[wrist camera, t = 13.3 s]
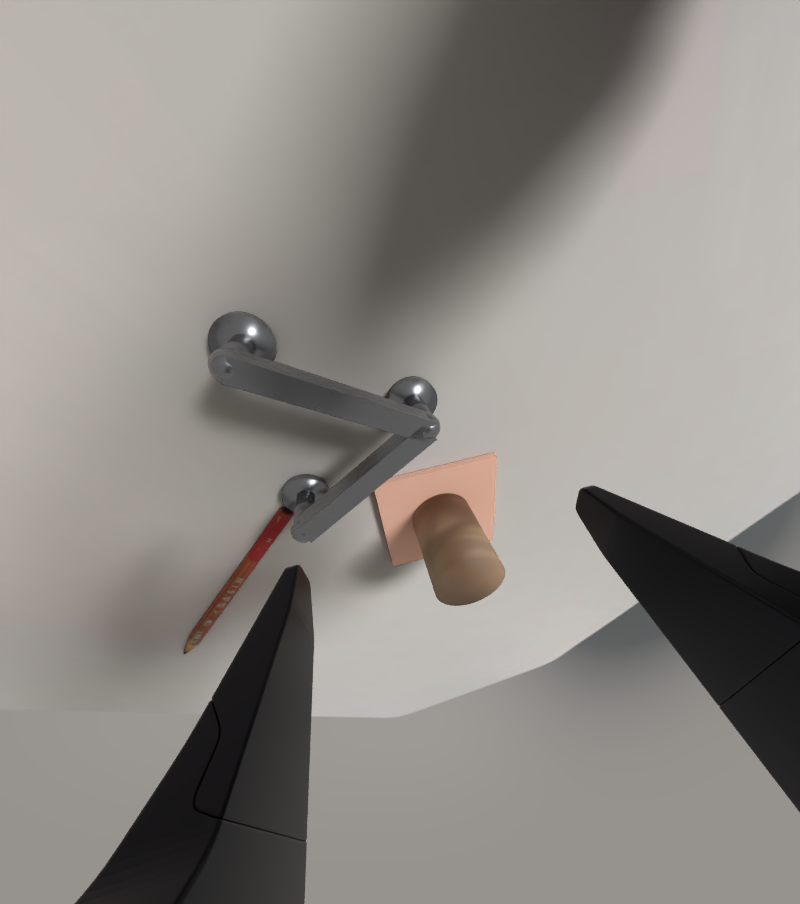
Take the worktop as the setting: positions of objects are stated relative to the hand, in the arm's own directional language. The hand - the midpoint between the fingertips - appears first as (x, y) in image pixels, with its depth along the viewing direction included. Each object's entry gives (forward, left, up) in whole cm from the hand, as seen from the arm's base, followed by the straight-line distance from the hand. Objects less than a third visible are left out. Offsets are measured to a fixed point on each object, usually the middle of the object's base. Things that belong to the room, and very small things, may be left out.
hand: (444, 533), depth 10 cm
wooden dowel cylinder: (-3, +11, -11) cm, 15 cm away
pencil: (+15, +13, -12) cm, 23 cm away
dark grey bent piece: (+3, +1, -11) cm, 11 cm away
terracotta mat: (-2, +11, -11) cm, 16 cm away
